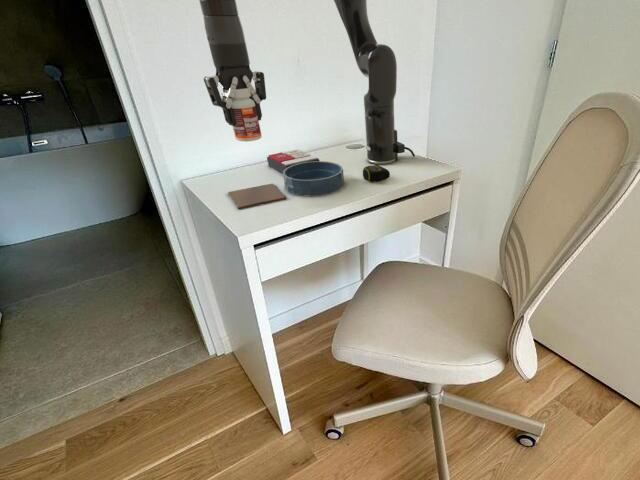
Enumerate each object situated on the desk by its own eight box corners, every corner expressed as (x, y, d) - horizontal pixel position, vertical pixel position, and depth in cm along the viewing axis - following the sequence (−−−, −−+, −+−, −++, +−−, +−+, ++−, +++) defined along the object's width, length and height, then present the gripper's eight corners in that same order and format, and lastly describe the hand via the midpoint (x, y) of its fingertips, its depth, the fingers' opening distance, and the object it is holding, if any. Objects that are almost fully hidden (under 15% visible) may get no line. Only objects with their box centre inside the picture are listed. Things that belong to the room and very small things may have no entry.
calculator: (297, 148, 128) (319, 156, 118) (300, 161, 130) (321, 170, 120) (265, 154, 122) (285, 163, 112) (268, 168, 125) (288, 178, 114)
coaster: (272, 185, 110) (272, 183, 110) (286, 199, 102) (285, 197, 102) (228, 194, 105) (228, 191, 105) (238, 209, 97) (238, 207, 96)
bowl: (330, 172, 119) (329, 157, 116) (353, 189, 108) (352, 173, 105) (278, 182, 112) (275, 167, 109) (297, 201, 101) (294, 184, 98)
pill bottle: (251, 143, 92) (240, 90, 86) (230, 140, 94) (217, 89, 87) (267, 136, 97) (257, 86, 91) (246, 134, 99) (235, 85, 92)
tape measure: (391, 181, 113) (390, 168, 110) (370, 186, 109) (369, 173, 107) (379, 174, 117) (378, 162, 115) (359, 179, 114) (358, 166, 112)
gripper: (204, 43, 77) (226, 130, 87) (265, 40, 87) (279, 119, 96) (185, 42, 81) (208, 125, 91) (246, 39, 91) (261, 115, 100)
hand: (245, 122), depth 93 cm, fingers closed on pill bottle, 6 cm apart
